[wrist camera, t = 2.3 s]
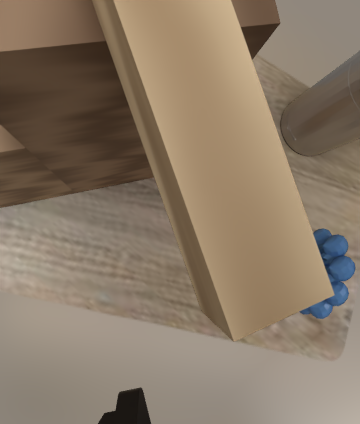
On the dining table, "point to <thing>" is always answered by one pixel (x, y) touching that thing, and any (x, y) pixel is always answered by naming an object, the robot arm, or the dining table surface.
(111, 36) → the mallet
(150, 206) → the dining table surface
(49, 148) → the stepped stand
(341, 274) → the grapes
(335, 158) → the dining table surface
